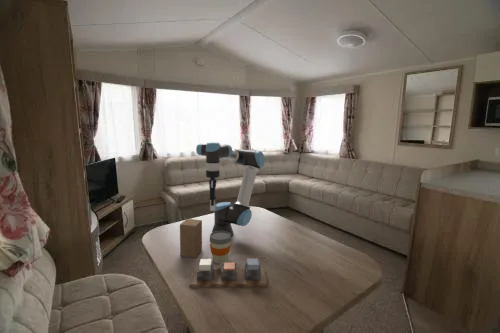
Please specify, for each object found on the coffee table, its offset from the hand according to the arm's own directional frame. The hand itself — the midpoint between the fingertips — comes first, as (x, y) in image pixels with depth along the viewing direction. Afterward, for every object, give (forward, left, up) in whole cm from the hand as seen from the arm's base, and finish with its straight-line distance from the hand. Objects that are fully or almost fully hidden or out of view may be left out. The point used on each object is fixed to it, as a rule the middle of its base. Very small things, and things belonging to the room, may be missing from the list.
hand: (212, 210), depth 144 cm
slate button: (+7, +30, -25) cm, 40 cm away
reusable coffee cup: (-1, +5, -30) cm, 30 cm away
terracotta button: (+13, +19, -27) cm, 36 cm away
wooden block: (+2, -14, -30) cm, 33 cm away
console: (+13, +19, -29) cm, 38 cm away
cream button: (+19, +9, -25) cm, 33 cm away
